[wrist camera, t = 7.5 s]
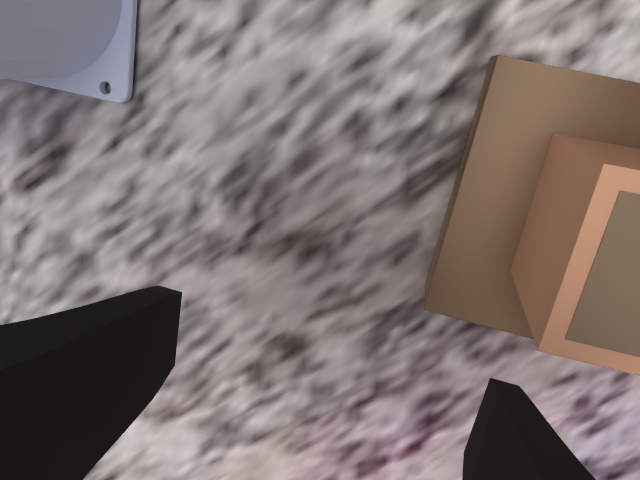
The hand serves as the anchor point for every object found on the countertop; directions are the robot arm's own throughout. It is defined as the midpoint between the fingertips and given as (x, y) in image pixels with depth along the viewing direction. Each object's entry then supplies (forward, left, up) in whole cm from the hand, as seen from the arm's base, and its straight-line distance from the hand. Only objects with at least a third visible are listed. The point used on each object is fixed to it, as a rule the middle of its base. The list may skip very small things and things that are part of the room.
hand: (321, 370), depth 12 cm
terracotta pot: (+7, +3, -8) cm, 11 cm away
